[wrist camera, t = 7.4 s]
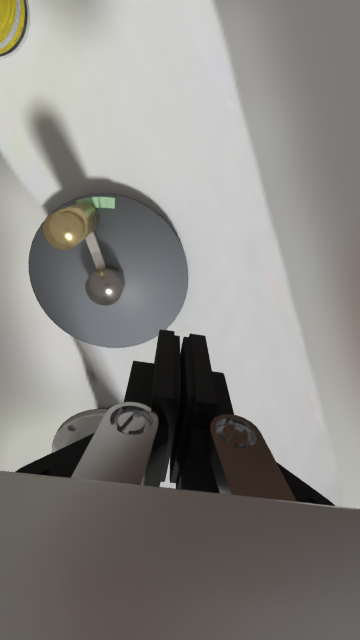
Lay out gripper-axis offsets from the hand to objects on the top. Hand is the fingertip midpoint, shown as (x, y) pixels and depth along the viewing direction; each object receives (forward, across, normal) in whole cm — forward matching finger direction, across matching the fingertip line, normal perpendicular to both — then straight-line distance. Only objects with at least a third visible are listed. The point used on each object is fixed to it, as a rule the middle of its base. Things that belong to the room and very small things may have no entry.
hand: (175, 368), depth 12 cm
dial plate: (+19, +6, +3) cm, 20 cm away
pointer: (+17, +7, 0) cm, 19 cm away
